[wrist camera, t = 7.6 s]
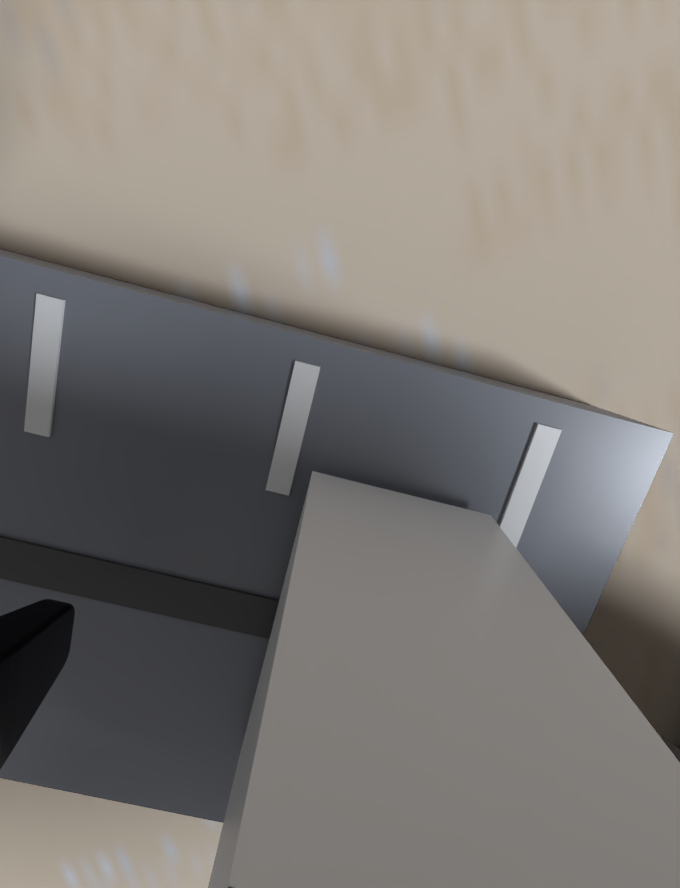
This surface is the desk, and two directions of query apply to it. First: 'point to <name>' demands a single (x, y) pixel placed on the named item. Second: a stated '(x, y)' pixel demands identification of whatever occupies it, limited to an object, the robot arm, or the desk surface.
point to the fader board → (241, 505)
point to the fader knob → (437, 720)
